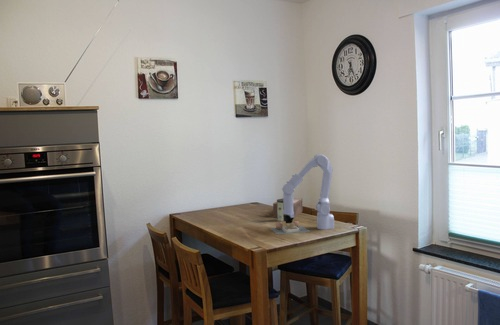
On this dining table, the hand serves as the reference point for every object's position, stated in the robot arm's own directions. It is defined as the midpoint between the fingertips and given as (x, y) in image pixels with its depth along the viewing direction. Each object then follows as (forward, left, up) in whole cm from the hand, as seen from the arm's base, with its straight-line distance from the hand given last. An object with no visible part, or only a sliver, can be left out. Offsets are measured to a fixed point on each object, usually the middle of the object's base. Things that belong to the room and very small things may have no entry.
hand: (288, 227), depth 227 cm
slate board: (0, +2, -2) cm, 2 cm away
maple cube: (0, +3, -1) cm, 4 cm away
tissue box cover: (-15, -47, -2) cm, 49 cm away
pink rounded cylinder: (-5, -3, -1) cm, 6 cm away
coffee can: (-6, -26, -2) cm, 27 cm away
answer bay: (0, +3, -1) cm, 3 cm away
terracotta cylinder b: (+5, -3, -1) cm, 6 cm away
